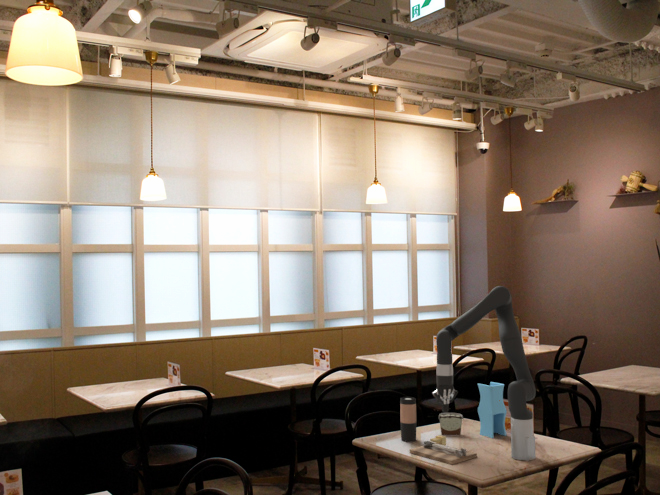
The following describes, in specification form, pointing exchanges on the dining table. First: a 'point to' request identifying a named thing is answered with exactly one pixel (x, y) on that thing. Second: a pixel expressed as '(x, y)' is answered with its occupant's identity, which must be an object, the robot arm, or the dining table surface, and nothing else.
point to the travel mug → (408, 418)
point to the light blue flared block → (492, 409)
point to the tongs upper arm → (441, 446)
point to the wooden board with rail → (443, 454)
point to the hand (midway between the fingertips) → (445, 412)
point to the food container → (450, 424)
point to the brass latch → (439, 440)
